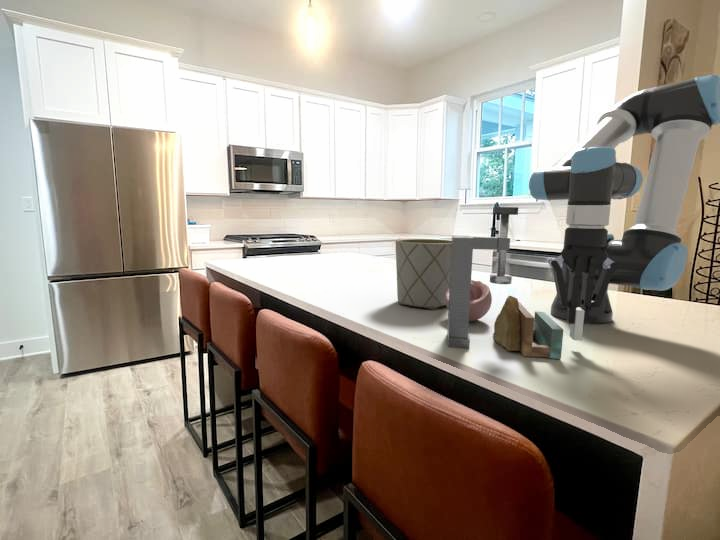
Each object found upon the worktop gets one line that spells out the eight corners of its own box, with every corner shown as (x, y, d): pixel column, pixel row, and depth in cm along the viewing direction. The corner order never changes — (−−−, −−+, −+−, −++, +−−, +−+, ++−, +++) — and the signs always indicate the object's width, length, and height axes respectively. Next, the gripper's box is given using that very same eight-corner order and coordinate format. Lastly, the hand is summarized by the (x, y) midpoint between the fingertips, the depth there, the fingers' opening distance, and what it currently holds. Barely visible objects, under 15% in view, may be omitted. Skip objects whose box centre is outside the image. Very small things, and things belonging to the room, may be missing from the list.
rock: (532, 343, 76) (541, 320, 83) (499, 312, 77) (512, 292, 84) (494, 368, 82) (506, 344, 90) (465, 339, 84) (479, 318, 91)
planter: (441, 314, 109) (444, 244, 106) (383, 305, 119) (384, 241, 116) (463, 301, 124) (466, 240, 122) (410, 294, 135) (411, 238, 132)
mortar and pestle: (435, 320, 103) (437, 278, 101) (457, 312, 111) (459, 273, 110) (477, 329, 94) (480, 284, 93) (497, 320, 103) (500, 278, 102)
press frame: (497, 337, 89) (504, 236, 85) (504, 351, 80) (512, 239, 76) (447, 334, 91) (451, 235, 87) (448, 346, 82) (453, 237, 79)
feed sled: (542, 336, 89) (544, 303, 88) (560, 359, 75) (564, 319, 74) (510, 334, 90) (512, 301, 89) (523, 355, 77) (526, 317, 76)
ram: (510, 280, 84) (515, 207, 82) (514, 285, 79) (520, 207, 77) (486, 279, 85) (491, 207, 83) (489, 283, 80) (494, 207, 78)
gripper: (613, 226, 80) (602, 335, 83) (546, 225, 82) (538, 330, 86) (631, 228, 73) (617, 346, 76) (557, 227, 75) (547, 341, 79)
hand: (575, 338), depth 81 cm, fingers closed
